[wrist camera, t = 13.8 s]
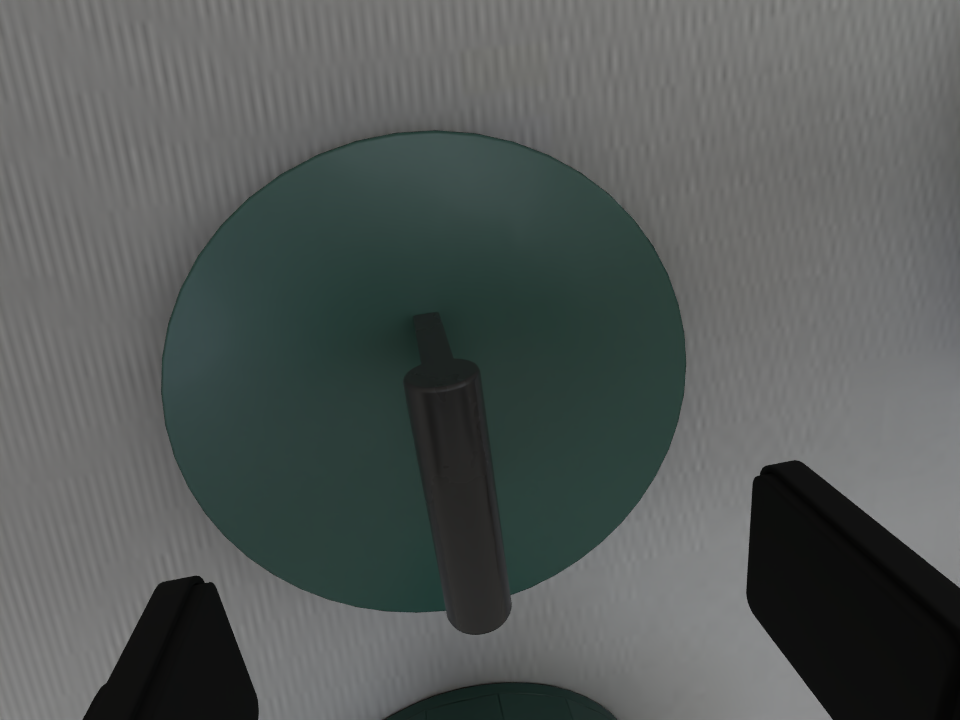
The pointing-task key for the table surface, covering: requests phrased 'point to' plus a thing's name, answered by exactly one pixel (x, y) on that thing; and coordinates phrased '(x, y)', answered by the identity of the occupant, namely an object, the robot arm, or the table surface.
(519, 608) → the table surface
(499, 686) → the pot
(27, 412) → the table surface
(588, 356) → the lid
